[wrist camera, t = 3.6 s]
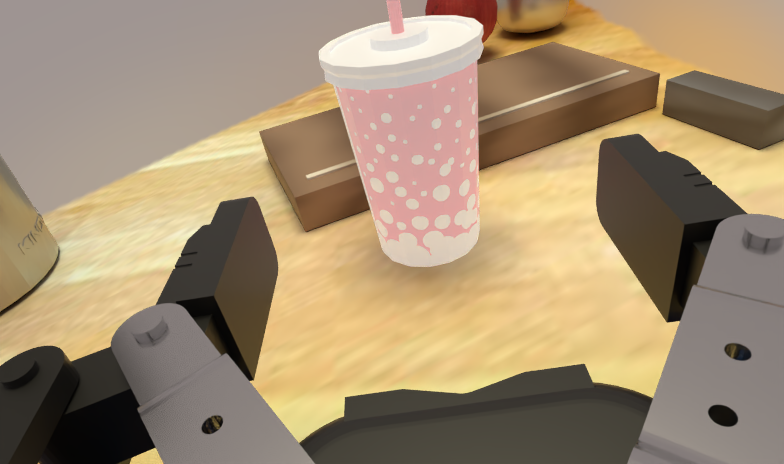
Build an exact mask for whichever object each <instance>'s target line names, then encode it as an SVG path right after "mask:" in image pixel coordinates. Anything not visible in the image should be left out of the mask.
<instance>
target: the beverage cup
mask: <svg viewBox="0 0 784 464" xmlns="http://www.w3.org/2000/svg"><path fill="white" fill-rule="evenodd" d="M386 1H387V7H388V13H389V19H390V21H389V22H384V23H379V24H375V25H371V26H368V27H365V28H361V29H358V30H355V31H352V32H349V33H347V34H345V35H342V36H340V37H338V38H336V39H334V40H332V41H330V42H328V43H327V44H326V45H325V46H324V47H323V48H322V49H321V50H319V60H320V64H321V67H322V68H323V69H324V72H325V81H326V82H328V83H331V84H333V85H334V89H335V92H336V95H337V99H338V102H339V105H340V109H341V112H342V116H343V119H344V122H345V126H346V129H347V132H348V136H349V139H350V142H351V146H352V149H353V153H354V156H355V159H356V163H357V166H358V169H359V173H360V176H361V179H362V183H363V186H364V190H365V193H366V196H367V200H368V203H369V206H370V210H371V213H372V217H373V220H374V223H375V227H376V230H377V233H378V237H379V240H380V243H381V247H382V250H383V252H384V253H385V254H386V255H387V256H388V257H389V258H390V259H391V260H392V261H395V262H398V263H401V264H404V265H407V266H412V267H432V266H437V265H441V264H446V263H450V262H452V261H454V260H456V259H458V258H460V257H462V256H464V255H466V254H467V253H468V252H469V251H470V250H471V249H472V248H473V247H474V245H475V244H476V243H477V241H478V236H479V231H480V225H479V151H478V78H477V60H478V59H479V58H480V56H481V54H482V51H483V48H484V47H483V43H482V40H481V39H482V36H483V34H484V32H483V25H482V24H481V23H479V22H478V21H477V20H475V19H474V18H468V17H462V16H457V15H430V16H421V17H413V18H404V19H403V18H402V11H401V5H400V0H386Z"/></svg>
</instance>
